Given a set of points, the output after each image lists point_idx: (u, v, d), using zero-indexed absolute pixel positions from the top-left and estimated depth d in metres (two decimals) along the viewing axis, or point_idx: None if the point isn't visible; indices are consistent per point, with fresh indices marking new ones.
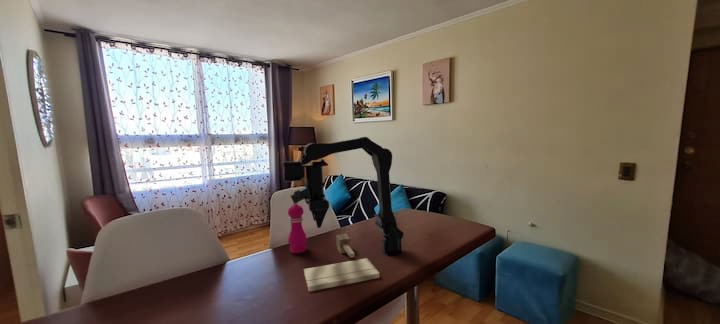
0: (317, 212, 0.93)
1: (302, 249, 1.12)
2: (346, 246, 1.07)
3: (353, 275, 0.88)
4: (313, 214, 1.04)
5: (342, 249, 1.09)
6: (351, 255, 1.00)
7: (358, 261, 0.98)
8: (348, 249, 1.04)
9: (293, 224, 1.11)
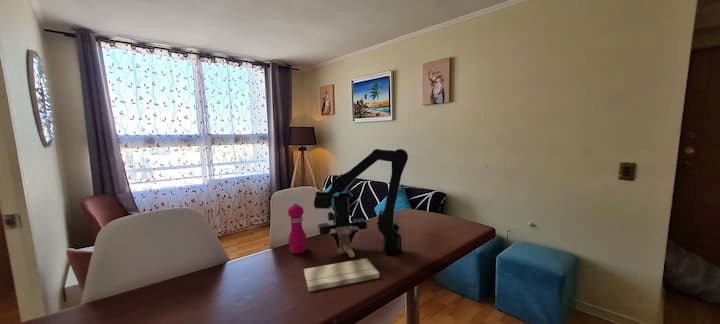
0: None
1: (302, 249, 1.12)
2: (346, 246, 1.07)
3: (353, 275, 0.88)
4: None
5: (342, 249, 1.09)
6: (351, 255, 1.00)
7: (358, 261, 0.98)
8: (348, 248, 1.04)
9: (293, 224, 1.11)
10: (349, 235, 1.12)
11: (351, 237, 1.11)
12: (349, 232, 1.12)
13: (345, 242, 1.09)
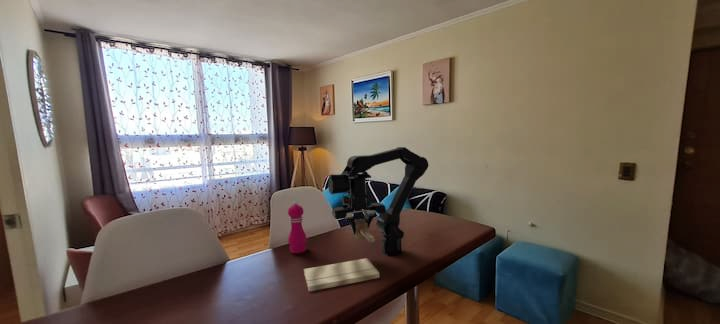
0: None
1: (302, 249, 1.12)
2: (364, 231, 0.98)
3: (353, 275, 0.88)
4: None
5: (359, 235, 1.00)
6: (371, 240, 0.91)
7: (358, 261, 0.98)
8: (366, 233, 0.95)
9: (293, 224, 1.11)
10: (366, 220, 1.03)
11: (368, 222, 1.02)
12: (366, 217, 1.03)
13: (362, 227, 1.00)
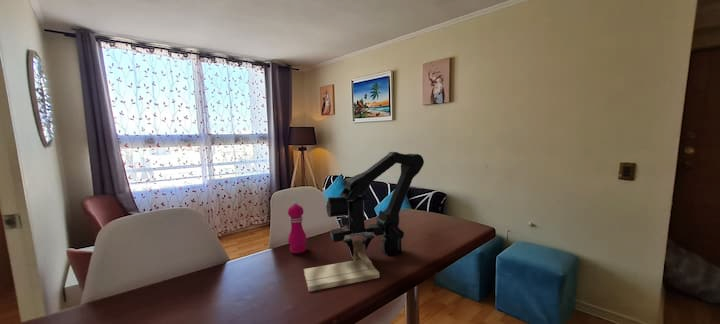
0: None
1: (302, 249, 1.12)
2: (362, 254, 0.98)
3: (353, 275, 0.88)
4: None
5: (357, 257, 1.01)
6: (368, 264, 0.91)
7: (358, 261, 0.98)
8: (364, 257, 0.96)
9: (293, 224, 1.11)
10: (364, 242, 1.03)
11: (366, 244, 1.02)
12: (364, 238, 1.04)
13: (360, 249, 1.01)
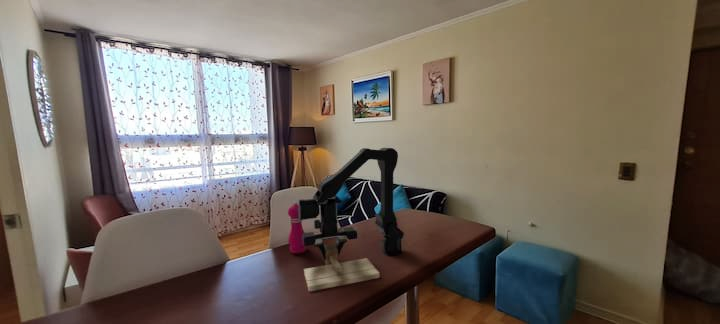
0: None
1: (302, 249, 1.12)
2: (333, 258, 0.95)
3: (353, 275, 0.88)
4: None
5: (329, 261, 0.98)
6: (338, 269, 0.88)
7: (358, 261, 0.98)
8: (335, 261, 0.93)
9: (293, 224, 1.11)
10: (337, 246, 1.00)
11: (339, 248, 0.99)
12: (337, 242, 1.01)
13: (332, 254, 0.98)
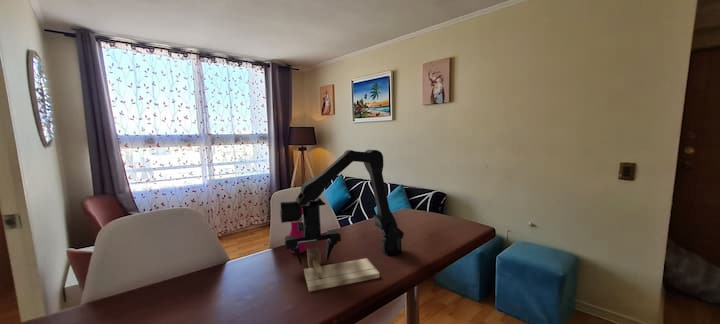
0: None
1: (302, 249, 1.12)
2: (316, 263, 0.94)
3: (353, 275, 0.88)
4: (326, 253, 1.01)
5: (312, 266, 0.96)
6: (319, 274, 0.86)
7: (358, 261, 0.98)
8: (317, 266, 0.91)
9: (293, 224, 1.11)
10: (327, 248, 0.99)
11: (329, 250, 0.98)
12: (327, 244, 1.00)
13: (315, 258, 0.96)
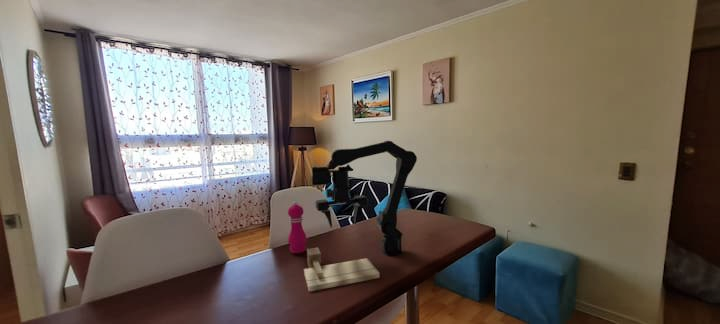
0: None
1: (302, 249, 1.12)
2: (316, 263, 0.94)
3: (353, 275, 0.88)
4: (354, 217, 1.07)
5: (312, 266, 0.96)
6: (319, 274, 0.86)
7: (358, 261, 0.98)
8: (317, 266, 0.91)
9: (293, 224, 1.11)
10: (355, 211, 1.06)
11: (358, 213, 1.05)
12: (355, 208, 1.06)
13: (315, 258, 0.96)
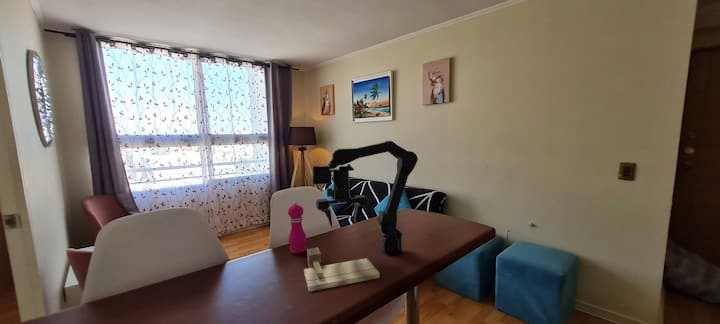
0: None
1: (302, 249, 1.12)
2: (316, 263, 0.94)
3: (353, 275, 0.88)
4: (354, 217, 1.07)
5: (312, 266, 0.96)
6: (319, 274, 0.86)
7: (358, 261, 0.98)
8: (317, 266, 0.91)
9: (293, 224, 1.11)
10: (356, 211, 1.06)
11: (358, 213, 1.05)
12: (356, 208, 1.06)
13: (315, 258, 0.96)
